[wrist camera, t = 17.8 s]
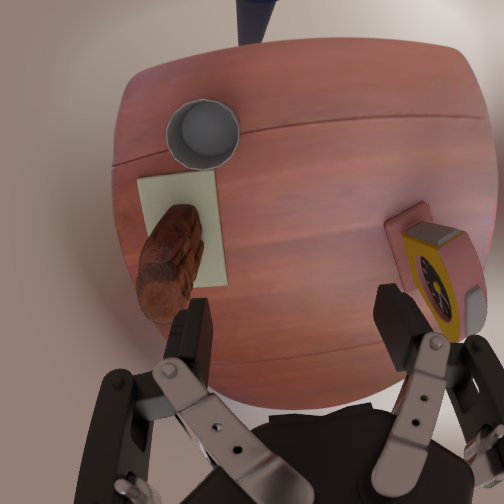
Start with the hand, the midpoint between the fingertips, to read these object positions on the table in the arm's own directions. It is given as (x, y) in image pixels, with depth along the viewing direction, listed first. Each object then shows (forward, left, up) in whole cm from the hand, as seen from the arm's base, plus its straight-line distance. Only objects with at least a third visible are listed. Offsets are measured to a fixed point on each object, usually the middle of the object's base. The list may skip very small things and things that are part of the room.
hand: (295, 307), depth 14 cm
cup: (-6, -6, -34) cm, 35 cm away
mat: (+11, -12, -34) cm, 37 cm away
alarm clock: (+17, +29, -34) cm, 47 cm away
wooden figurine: (+10, -12, -33) cm, 36 cm away
